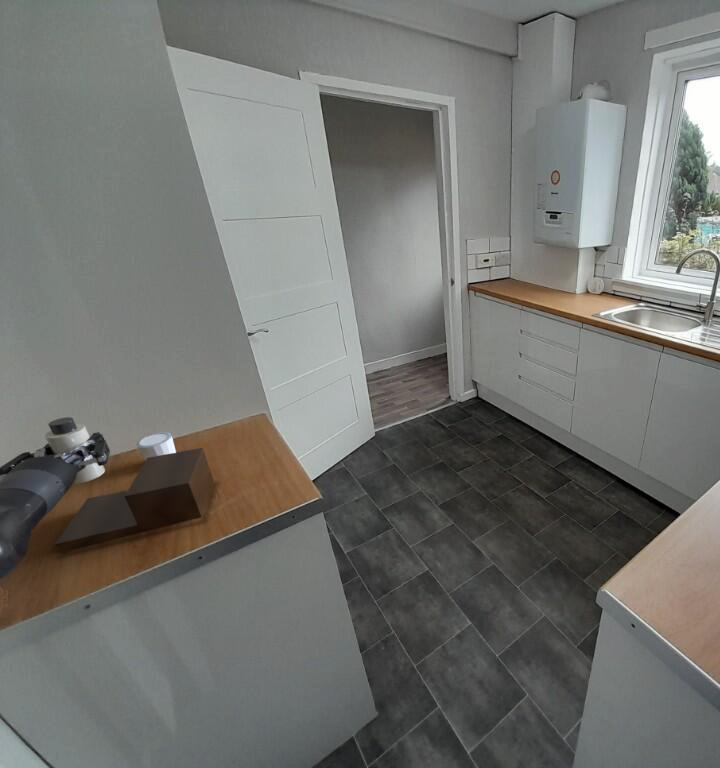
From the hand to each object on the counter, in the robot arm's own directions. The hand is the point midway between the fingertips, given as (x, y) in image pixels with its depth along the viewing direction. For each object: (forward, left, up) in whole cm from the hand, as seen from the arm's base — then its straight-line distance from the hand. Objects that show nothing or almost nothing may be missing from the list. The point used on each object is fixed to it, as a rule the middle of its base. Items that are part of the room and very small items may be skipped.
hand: (78, 440), depth 78 cm
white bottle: (0, -3, -7) cm, 7 cm away
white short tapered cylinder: (+4, +20, -19) cm, 27 cm away
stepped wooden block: (+6, -2, -19) cm, 20 cm away
